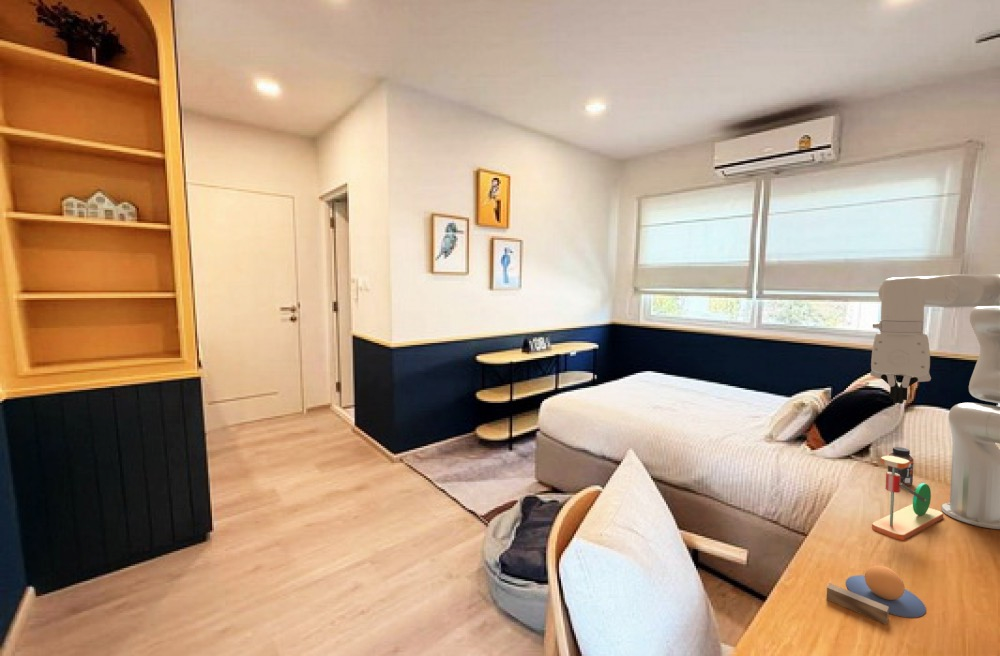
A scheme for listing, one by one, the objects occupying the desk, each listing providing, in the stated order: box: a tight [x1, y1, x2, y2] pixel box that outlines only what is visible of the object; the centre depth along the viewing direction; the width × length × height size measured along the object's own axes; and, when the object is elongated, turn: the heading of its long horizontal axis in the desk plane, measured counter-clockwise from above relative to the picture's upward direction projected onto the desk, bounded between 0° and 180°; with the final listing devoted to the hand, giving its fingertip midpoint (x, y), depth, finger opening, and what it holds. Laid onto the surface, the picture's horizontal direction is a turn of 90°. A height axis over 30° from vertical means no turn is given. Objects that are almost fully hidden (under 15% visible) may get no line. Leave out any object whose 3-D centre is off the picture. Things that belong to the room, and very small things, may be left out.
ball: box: [864, 565, 906, 600], centre depth 85 cm, size 6×6×6 cm
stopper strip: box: [826, 583, 890, 626], centre depth 82 cm, size 9×2×2 cm, turn 40°
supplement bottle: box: [887, 446, 915, 487], centre depth 136 cm, size 6×6×11 cm
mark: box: [845, 574, 927, 618], centre depth 85 cm, size 12×12×1 cm
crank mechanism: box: [871, 455, 944, 541], centre depth 112 cm, size 25×7×19 cm, turn 116°
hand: (898, 402), depth 102 cm, fingers closed
